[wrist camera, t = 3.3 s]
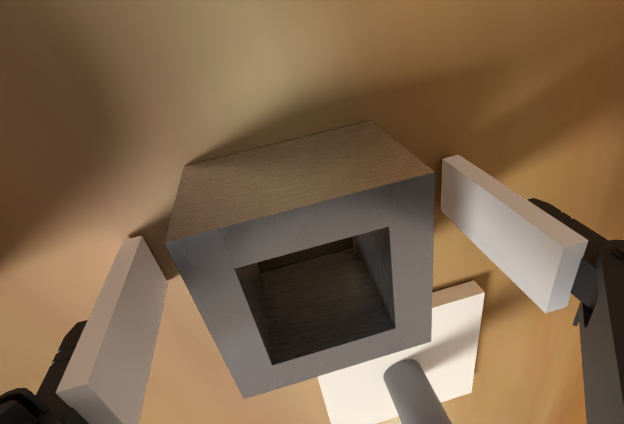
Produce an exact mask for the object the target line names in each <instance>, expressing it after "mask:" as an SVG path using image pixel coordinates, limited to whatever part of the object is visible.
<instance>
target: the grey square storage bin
mask: <svg viewBox="0 0 624 424" xmlns="http://www.w3.org/2000/svg"><path fill="white" fill-rule="evenodd" d="M434 190H435V172H434V171H433V170H432V169H431V168H429V167H428V166H427V165H426V164H424V163H423V162H422V161H421V160H419V159H418V158H417V157H416V156H414V155H413V154H412V153H411V152H409V151H408V150H407V149H406V148H405V147H403V146H402V145H401V144H400V143H398V142H397V141H396V140H395V139H393V138H392V137H391V136H390V135H388V134H387V133H386V132H385V131H383V130H382V129H381V128H380V127H378V126H377V125H376V124H375V123H374V122H372V121H367V122H363V123H359V124H354V125H350V126H346V127H342V128H338V129H334V130H330V131H326V132H322V133H318V134H313V135H309V136H305V137H301V138H297V139H293V140H289V141H285V142H281V143H277V144H273V145H268V146H264V147H260V148H256V149H252V150H248V151H244V152H240V153H236V154H232V155H227V156H223V157H219V158H215V159H211V160H207V161H203V162H199V163H195V164H191V165H186V166H184V168H183V172H182V176H181V180H180V184H179V188H178V191H177V195H176V199H175V203H174V207H173V211H172V215H171V219H170V223H169V227H168V230H167V234H166V238H165V242H164V243H165V245H166V247H167V249H168V251H169V253H170V255H171V257H172V259H173V261H174V263H175V265H176V267H177V269H178V271H179V273H180V275H181V277H182V279H183V280H184V282H185V284H186V286H187V288H188V290H189V292H190V294H191V296H192V298H193V300H194V302H195V304H196V306H197V308H198V310H199V312H200V314H201V316H202V318H203V320H204V322H205V324H206V326H207V328H208V330H209V331H210V333H211V335H212V337H213V339H214V341H215V343H216V345H217V347H218V349H219V351H220V353H221V355H222V357H223V359H224V361H225V363H226V365H227V367H228V369H229V371H230V373H231V375H232V377H233V379H234V380H235V382H236V384H237V386H238V388H239V390H240V392H241V394H242V396H243V398H244V399H246V398H249V397H253V396H256V395H259V394H262V393H266V392H269V391H272V390H275V389H279V388H282V387H285V386H288V385H292V384H295V383H298V382H301V381H305V380H308V379H311V378H315V377H318V376H321V375H324V374H328V373H331V372H334V371H337V370H341V369H344V368H347V367H350V366H354V365H357V364H360V363H363V362H367V361H370V360H373V359H377V358H380V357H383V356H386V355H390V354H393V353H396V352H399V351H403V350H406V349H409V348H412V347H416V346H419V345H422V344H425V343H429V342H431V332H432V285H433V237H434ZM349 237H352V241H353V248H350V249H346V250H342V251H339V252H335V253H331V254H328V255H324V256H321V257H317V258H313V259H310V260H306V261H302V262H299V263H295V264H292V265H288V266H284V267H281V268H277V269H273V270H270V271H266V272H263V273H260V271H259V268H258V265H257V262H261V261H264V260H268V259H272V258H275V257H279V256H283V255H286V254H290V253H294V252H297V251H301V250H305V249H308V248H312V247H316V246H319V245H323V244H327V243H330V242H334V241H338V240H341V239H345V238H349Z"/></svg>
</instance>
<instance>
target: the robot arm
mask: <svg viewBox="0 0 624 424" xmlns="http://www.w3.org/2000/svg"><path fill="white" fill-rule="evenodd" d="M441 211H442V212H443V213H444V214H445V215H446V216H447V217H448V218H449V219H450V220H451V221H452V222H453V223H454V224H455V225H456V226H457V227H458V228H459V229H460V230H461V231H462V232H463V233H464V234H465V235H466V236H467V237H468V238H469V239H470V240H471V241H472V242H473V243H474V244H475V245H476V246H477V247H478V248H479V249H480V250H481V251H482V252H483V253H484V254H485V255H486V256H487V257H488V258H489V259H490V260H492V261H493V262H494V263H495V264H496V265H497V266H498V267H499V268H500V269H501V270H502V271H503V272H504V273H505V274H506V275H507V276H508V277H509V278H510V279H511V280H512V281H513V282H514V283H515V284H516V285H517V286H518V287H519V288H520V289H521V290H522V291H523V292H524V293H525V294H526V295H527V296H528V297H529V298H530V299H531V300H532V301H533V302H534V303H535V304H536V305H537V306H538V307H539V308H540V309H541V310H543V311H544V312H545V313H548V312H552V311H555V310H558V309H562V308H565V307H567V305H568V302H569V299H570V296H571V293H572V294H573V295H574V296H575V297H576V298H578V299H579V300H580V301H581V302H580V305H579V308H578V311H577V313H576V316H575V319H574V322H573V325H574V326H577V325H578V322H579V326H580V339H581V352H582V366H583V379H584V392H585V406H586V419H587V424H624V240H610V241H608V240H607V239H605V238H604V237H602V236H600V235H599V234H597V233H596V232H594V231H592V230H591V229H589V228H588V227H586V226H584V225H583V224H581V223H580V222H578V221H576V220H575V219H571V217H570V216H568V215H567V214H565V213H564V212H563V213H562V212H561V211H560V210H559V209H557V208H556V207H554V206H552V205H551V204H549V203H547V202H544V201H541V200H538V199H535V198H532V199H528V200H527V199H525V198H523V197H522V196H520V195H519V194H517V193H516V192H514V191H513V190H511V189H510V188H508V187H507V186H505V185H504V184H502V183H501V182H499V181H498V180H496V179H495V178H493V177H492V176H490V175H489V174H487V173H486V172H484V171H483V170H481V169H480V168H478V167H477V166H475V165H473V164H472V163H470V162H469V161H467V160H466V159H464V158H463V157H461V156H460V155H455V156H451V157H447V158H443V159H442V183H441ZM167 287H168V282H167V280H166V279H165V277H164V275H163V273H162V271H161V269H160V268H159V266H158V264H157V262H156V260H155V258H154V257H153V255H152V253H151V251H150V249H149V247H148V246H147V244H146V242H145V240H144V238H143V236H138V237H134V238H130V239H126V240H123V242H122V244H121V246H120V249H119V251H118V253H117V255H116V258H115V260H114V262H113V264H112V267H111V269H110V271H109V273H108V276H107V278H106V280H105V282H104V285H103V287H102V289H101V291H100V294H99V296H98V298H97V300H96V303H95V305H94V307H93V309H92V312H91V314H90V316H89V318H88V320H86V321H82V322H78V323H76V325H75V326H74V327H73V328H72V329H71V330H70V331H69V333H68V334H67V335H66V336H65V337H64V339H63V341H62V343H61V345H60V347H59V349H58V354H56V356H55V358H54V360H53V362H52V366H50V368H49V370H48V372H47V374H46V376H45V378H44V380H43V382H42V384H41V386H40V388H39V390H38V392H37V394H36V396H35V395H34V394H33V393H32V392H31V391H29V390H28V389H26V388H17V389H14V390H11V391H8V392H6V393H4V394H3V395H1V396H0V424H138V423H139V418H140V413H141V409H142V404H143V399H144V395H145V390H146V385H147V381H148V376H149V371H150V367H151V362H152V357H153V353H154V348H155V343H156V339H157V334H158V329H159V325H160V320H161V315H162V311H163V306H164V301H165V297H166V292H167Z"/></svg>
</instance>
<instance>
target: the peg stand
mask: <svg viewBox="0 0 624 424" xmlns="http://www.w3.org/2000/svg"><path fill="white" fill-rule="evenodd" d="M484 295H485V292H484V291H483V290H482V289H481V288H480V286H479V285H478V284H477V283H476V282H475V281H474V280H473V281H469V282H466V283H463V284H459V285H456V286H452V287H449V288H446V289H442V290H439V291H435V292H432V332H431V342H429V343H425V344H422V345H419V346H416V347H412V348H409V349H406V350H403V351H399V352H396V353H393V354H390V355H386V356H383V357H380V358H377V359H373V360H370V361H367V362H363V363H360V364H357V365H354V366H350V367H347V368H344V369H341V370H337V371H334V372H331V373H328V374H324V375H321V376H318V380H319V383H320V387H321V390H322V394H323V398H324V401H325V405H326V408H327V412H328V415H329V419H330V422H331V424H376V423H379V422H382V421H385V420H388V419H391V418H394V417H398V416H399V417H400V420H401V422H402V424H452V423H451V421H450V419H449V418H448V416H447V414H446V412H445V410H444V408H443V406H442V405H441V402H444V401H447V400H450V399H453V398H456V397H459V396H462V395H466V394H469V393H471V391H472V383H473V376H474V369H475V361H476V354H477V347H478V339H479V332H480V324H481V317H482V310H483V302H484Z"/></svg>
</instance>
